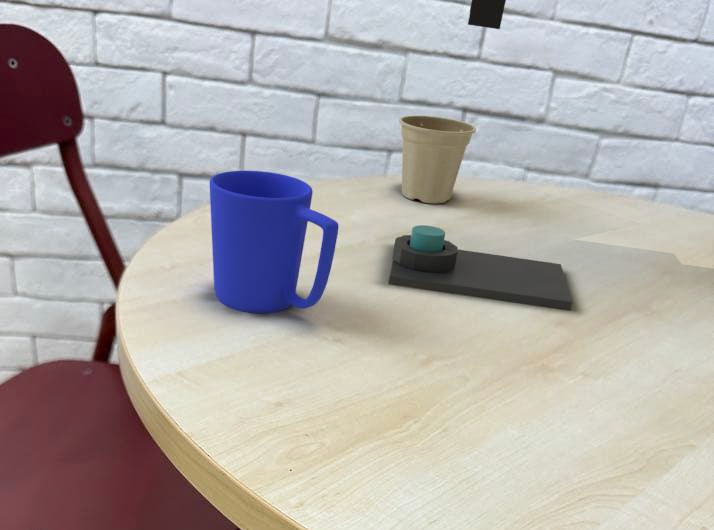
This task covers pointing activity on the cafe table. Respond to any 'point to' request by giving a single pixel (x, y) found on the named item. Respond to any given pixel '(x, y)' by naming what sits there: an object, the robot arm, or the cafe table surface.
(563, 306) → the dark grey piece
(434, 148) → the flower pot
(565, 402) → the cafe table surface
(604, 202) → the cafe table surface
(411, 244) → the button
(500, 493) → the cafe table surface
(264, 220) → the mug
